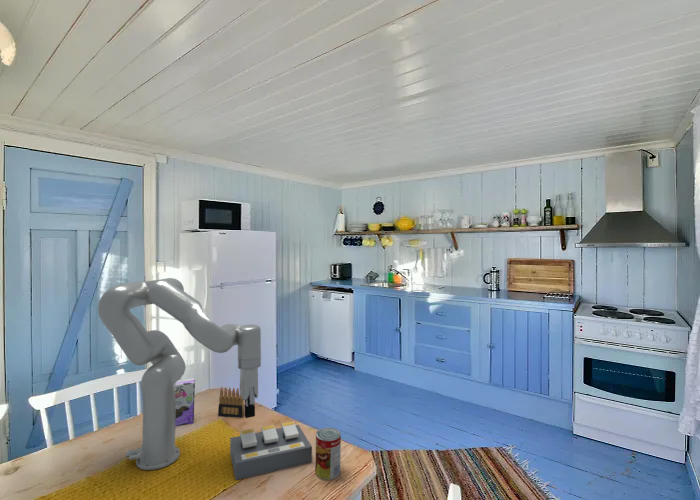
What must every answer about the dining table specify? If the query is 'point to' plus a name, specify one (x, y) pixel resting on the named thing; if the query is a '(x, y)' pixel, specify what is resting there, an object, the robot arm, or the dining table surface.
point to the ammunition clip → (230, 404)
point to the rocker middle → (269, 434)
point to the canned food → (328, 453)
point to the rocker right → (289, 430)
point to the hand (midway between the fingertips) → (249, 416)
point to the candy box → (184, 401)
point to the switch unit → (269, 454)
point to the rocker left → (248, 438)
